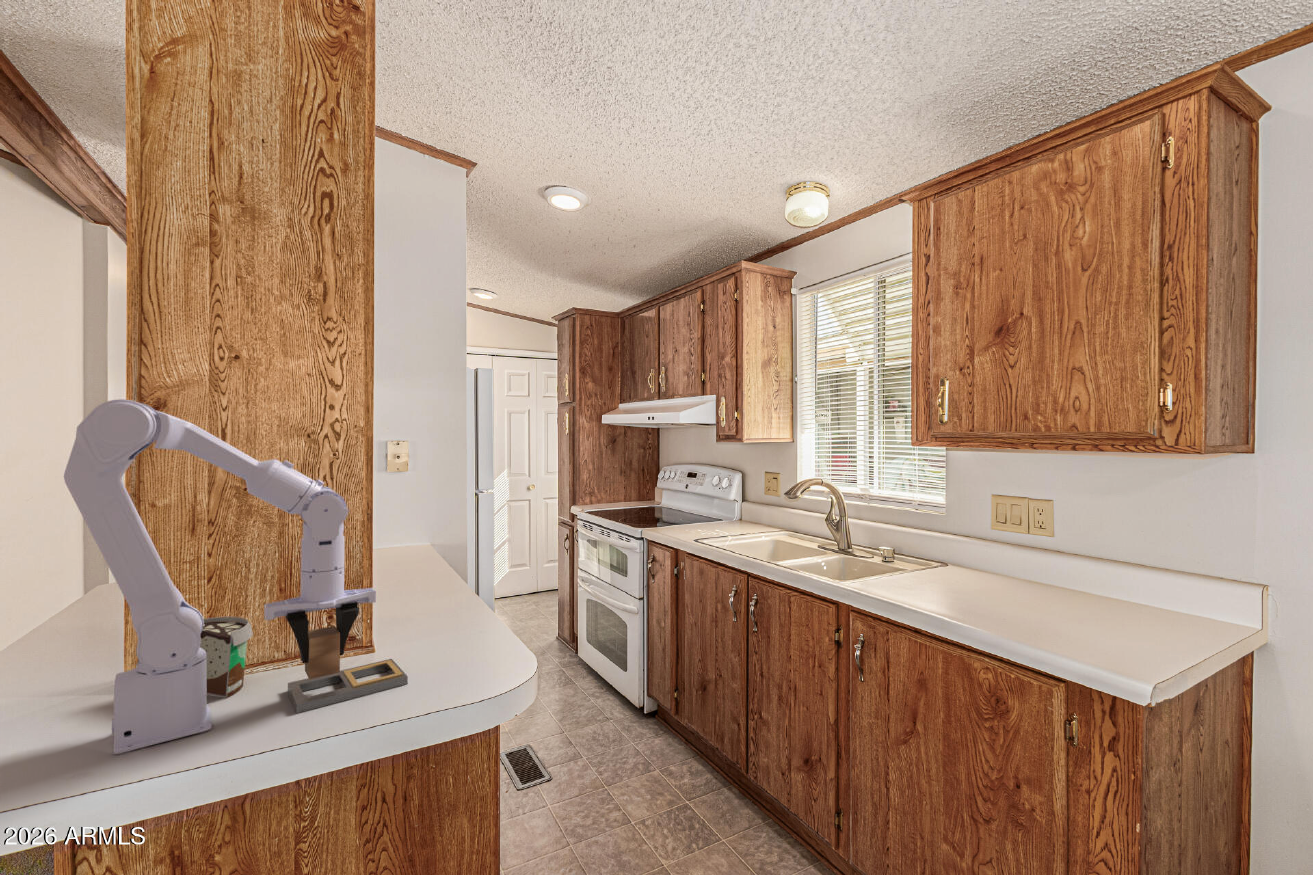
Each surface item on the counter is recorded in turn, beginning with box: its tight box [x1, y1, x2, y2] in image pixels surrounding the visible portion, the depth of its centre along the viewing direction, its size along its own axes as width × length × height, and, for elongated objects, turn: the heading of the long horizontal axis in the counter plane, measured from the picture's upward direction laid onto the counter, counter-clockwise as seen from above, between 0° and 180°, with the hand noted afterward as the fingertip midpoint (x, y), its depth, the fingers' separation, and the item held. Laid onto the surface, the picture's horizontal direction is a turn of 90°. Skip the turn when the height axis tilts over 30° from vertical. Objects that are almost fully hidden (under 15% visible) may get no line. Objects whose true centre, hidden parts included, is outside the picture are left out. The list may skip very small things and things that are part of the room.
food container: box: [200, 616, 254, 699], centre depth 90 cm, size 12×6×10 cm, turn 74°
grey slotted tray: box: [287, 658, 409, 714], centre depth 89 cm, size 15×9×1 cm, turn 130°
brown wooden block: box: [304, 625, 341, 679], centre depth 87 cm, size 4×4×6 cm
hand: (322, 657), depth 87 cm, fingers closed on brown wooden block, 4 cm apart
